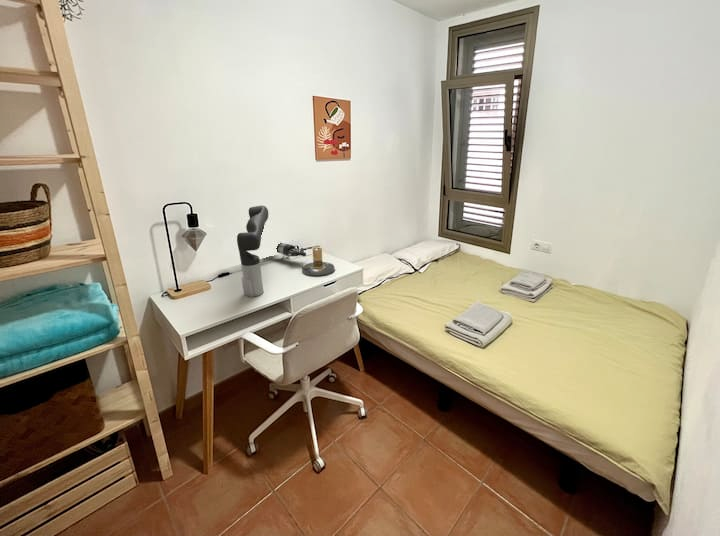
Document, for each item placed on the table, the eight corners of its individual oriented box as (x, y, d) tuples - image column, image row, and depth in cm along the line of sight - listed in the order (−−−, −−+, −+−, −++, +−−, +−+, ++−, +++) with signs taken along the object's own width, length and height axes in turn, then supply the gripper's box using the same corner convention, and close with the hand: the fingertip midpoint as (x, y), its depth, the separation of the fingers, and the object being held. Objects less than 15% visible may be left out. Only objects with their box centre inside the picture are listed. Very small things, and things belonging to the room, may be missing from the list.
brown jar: (318, 270, 203) (317, 251, 198) (310, 267, 206) (308, 249, 202) (326, 266, 208) (325, 248, 204) (317, 264, 212) (316, 246, 207)
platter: (318, 278, 195) (318, 275, 194) (295, 271, 206) (295, 268, 205) (340, 268, 210) (340, 265, 209) (317, 262, 221) (317, 259, 220)
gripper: (278, 246, 215) (297, 251, 205) (293, 241, 224) (312, 246, 215) (279, 257, 217) (298, 263, 208) (294, 252, 227) (313, 257, 217)
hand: (305, 254), depth 211 cm, fingers closed
